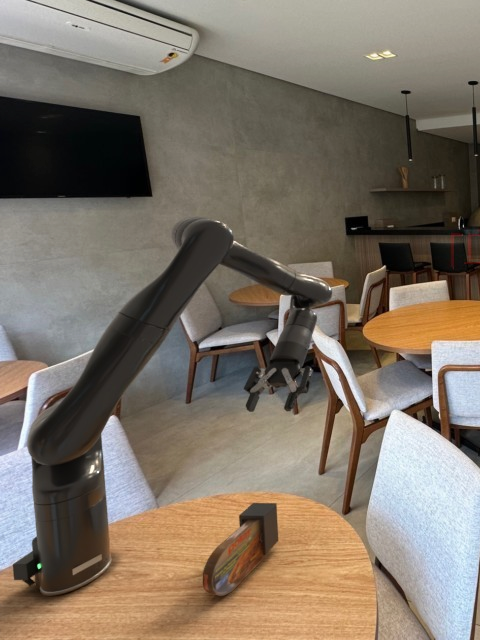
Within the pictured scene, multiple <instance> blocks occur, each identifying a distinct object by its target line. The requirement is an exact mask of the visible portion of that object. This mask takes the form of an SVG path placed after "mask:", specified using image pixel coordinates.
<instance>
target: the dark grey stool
mask: <svg viewBox="0 0 480 640" xmlns="http://www.w3.org/2000/svg"><path fill="white" fill-rule="evenodd" d="M238 519H239V521H238V522H239V527H241V526H242V525H243V524H244V523H245V522H246V521H247V520H249V519H251V520H261V524H262V543H263V555H266V554H267V553H268V552H269V553H270V551H271V550H272V549H273V548H274V547H275V545H276V544H277V543H278V542H279V524H278V523H279V522H278V504H277V502H252V503H251V504H250V505H248V507H247V508H246V509H244V510H243V511H242V512H240V514H239V515H238ZM269 553H268V554H269ZM268 554H267V555H268Z"/></svg>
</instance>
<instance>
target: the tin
mask: <svg viewBox="0 0 480 640" xmlns="http://www.w3.org/2000/svg"><path fill="white" fill-rule="evenodd" d="M269 553H270V551H269V552H268V553H267V554H266V555H263V543H262V524H261V520H251V519H249V520H247V521H246V522H245V523H244V524H243V525H242V526H241V527H240V526H239V527H238V528H237V529H236V530H235V531H234V532H232V533H231V534H230V535H229V536H228V537H227V538H225V539H224V540H223V541H222V542H221V543H220V544H219V545H218V546H216V548H215V549H214V550H213V551H212V552H211V554H210V555H209V557H208V558H207V561H206V562H205V565H204V567H203V570H202V586H203V590H204V592H206V593H207V594H210V595H216V596H219V597H223V596H224V597H225V596H226V595H229V594H230V593H231V592H232V591H234V590H235V589H236V588H237V587H238V586H239V585H240V584H241V583H242V582H243V581H244V580H245V579H246V577H247V576H248V575H249V574H251V572H252V571H254V569H256V567H258V565H260V563H261V562H262V561H263V560H264V559H265V558H266V557H267V556H268V554H269Z"/></svg>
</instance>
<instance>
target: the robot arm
mask: <svg viewBox="0 0 480 640" xmlns="http://www.w3.org/2000/svg"><path fill="white" fill-rule="evenodd" d="M170 239H171V242H172V245H173V246H174V248H175V249H176V250H177V252H176V254H175V255H174V256H173V258H172V260H171V261H170V263H169V264H168V265H167V267H166V268H165V269H164V270H163V271H162V272H161V274H160V275H158V276H157V277H156V278H155V279H154V280H152V281H151V282H149V283H148V284H147V285H146V286H144V287H143V288H142V289H140V290H139V291H138V292H137V293H135V294H134V295H133V296H132V297H131V298H130V299H129V300H128V301H126V302H125V304H123V306H122V307H121V308H120V310H119V311H118V312H117V313H116V314H115V316H114V317H113V319H112V320H111V321H110V322H109V324H108V325H107V327H106V328H105V329H104V332H103V333H102V334H101V336H100V337H99V340H98V341H97V343H96V345H95V346H94V348H93V350H92V352H91V354H90V357H89V358H88V359H87V362H86V365H85V366H84V369H83V370H82V373H81V374H80V376H79V378H78V380H77V381H76V382H75V384H74V385H73V387H72V388H71V389H70V390H69V391H68V393H67V394H66V395H65V396H64V398H63V399H61V401H60V402H58V403H57V404H54V405H51V406H49V407H47V409H45V410H43V411H42V412H41V413H39V414H38V416H36V417H35V419H34V420H33V422H32V423H31V425H30V428H29V431H28V434H27V438H26V439H27V441H26V448H27V452H28V454H29V456H30V459H31V475H32V476H31V477H32V478H31V479H32V481H31V482H32V483H31V488H32V501H33V510H34V521H35V522H34V523H35V533H36V536H35V537H33V539H32V540H31V549H32V551H30V552H29V553H27V554H26V555H24V556H23V557H21V558H20V559H18V560H17V561H16V562H14V563H13V564H12V572H13V580H14V581H22V582H24V583H25V584H26V585H28V586H29V587H31V586H33V585H34V584H35V589H36V590H39V591H40V593H41V595H43V596H47V597H53V596H60V595H65V594H67V593H70V592H73V591H75V590H78V589H80V588H83V587H84V586H86V585H88V584H90V583H91V582H93V581H95V580H96V579H98V578H99V577H100V576H102V575H103V574H104V573H105V572H106V571H107V570H108V569H109V567H110V566H111V564H112V560H113V558H112V554H111V543H110V528H109V515H108V502H107V500H108V499H107V490H106V489H107V487H106V477H105V461H104V451H103V438H102V433H103V431H104V430H105V427H106V426H107V424H108V422H109V420H110V418H111V417H112V415H113V413H114V411H115V410H116V408H117V406H118V405H119V402H120V401H121V399H122V397H123V396H124V395H125V393H126V391H127V390H128V389H129V387H130V386H131V384H132V383H133V382H134V381H135V380H136V379H137V377H138V376H139V375H140V374H141V373H142V371H143V370H144V368H145V367H146V366H147V365H148V363H149V362H150V361H151V359H152V358H153V357H154V355H155V354H156V352H157V351H158V350H159V349H160V348H161V346H162V345H163V343H164V341H165V340H166V339H167V337H168V336H169V334H170V332H171V331H172V330H173V328H174V326H176V324H177V322H178V321H179V319H180V317H181V316H182V314H183V313H184V312H185V310H186V309H187V307H188V306H189V305H190V303H191V301H192V300H193V298H194V297H195V296H196V294H197V292H198V291H199V289H200V288H201V287H202V285H203V284H204V283H205V281H206V280H207V279H208V278H209V277H210V276H211V275H212V274H213V272H214V271H215V270H216V269H217V268H218V266H219V265H221V266H223V267H225V268H228V269H229V270H232V271H234V272H236V273H237V274H240V275H242V276H244V277H245V278H248V279H250V280H252V281H254V283H257V284H258V285H261V286H263V287H265V288H267V289H269V290H271V291H273V292H275V293H277V294H280V295H282V296H285V297H286V296H290V300H289V310H288V311H289V312H288V313H289V314H288V318H287V320H286V322H285V325H284V327H283V329H282V331H281V333H280V334H279V337H278V338H277V341H276V344H275V346H274V349H273V351H272V354H271V356H270V359H269V364H268V365H267V367H266V368H260V367H259V366H256V365H255V366H254V367H253V368H252V370H251V372H250V374H249V376H248V378H247V380H246V382H245V384H244V386H243V390H244V391H245V392H246V393H248V394H249V396H248V398H247V400H246V403H245V409H246V410H247V411H248V412H250V413H254V412H255V410H256V407H257V405H258V403H259V399H260V396H261V395H262V394H263V393H264V392H266V391H268V390H270V389H271V388H272V387H273V388H278V387H283V388H285V387H289V390H290V392H289V393H288V395H287V397H286V400H285V403H284V406H283V410H285V411H286V412H292V410H293V409H294V408H295V406H296V403H297V400H298V397H299V396H300V395H303V394H308V392H309V390H310V388H311V387H310V386H311V382H312V379H313V375H314V369H312V367H310V365H306V366H304V363H305V360H306V358H307V355H308V352H309V349H310V347H311V343H312V338H313V334H314V331H315V328H316V325H317V323H318V315H317V313H316V312H314V311H313V310H312V309H314V308H316V307H319V306H320V307H321V306H323V305H326V304H328V303H329V302H330V301H331V299H332V297H333V289H332V287H331V285H330V284H329V283H328V282H327V281H325V280H324V279H322V278H319V277H317V276H313V275H310V274H307V273H303V272H298V271H296V270H295V269H293V268H291V267H289V266H287V265H286V264H283V263H282V262H280V261H278V260H276V259H274V258H271V257H269V256H267V255H264V254H262V253H260V252H258V251H255V250H253V249H251V248H249V247H247V246H245V245H243V244H242V243H239V242H237V241H235V240H234V234H233V231H232V228H231V227H230V226H229V225H228V224H226V223H224V222H223V221H220V220H217V219H213V218H208V217H204V216H189V217H185V218H183V219H180V220H179V221H177V222H176V223H175V224H174V225H173V227H172V228H171V232H170ZM303 366H304V367H303ZM300 376H302V377H301V381H300V384H299V385H298V384H297V381H296V379H297V378H298V377H300ZM33 577H34V579H32V578H33Z"/></svg>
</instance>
